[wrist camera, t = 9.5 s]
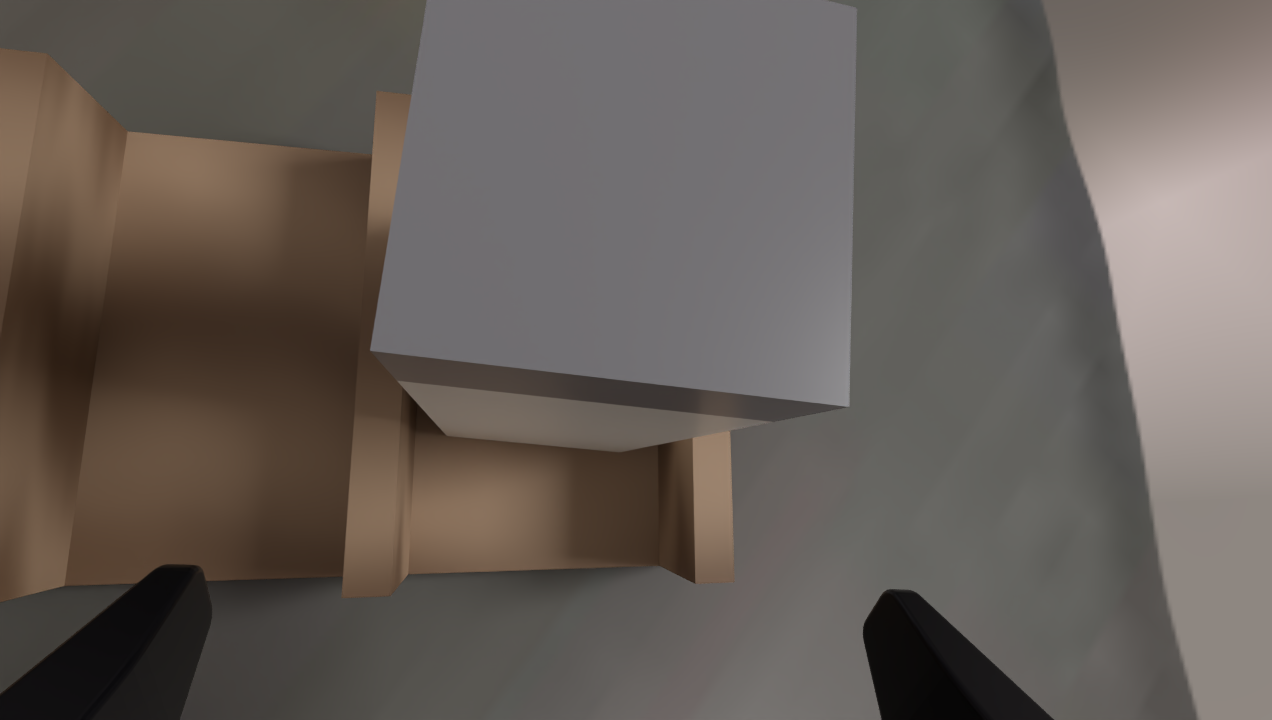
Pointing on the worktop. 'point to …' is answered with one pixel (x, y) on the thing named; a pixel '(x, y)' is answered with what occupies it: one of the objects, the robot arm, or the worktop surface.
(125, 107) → the worktop surface
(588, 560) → the comb rack
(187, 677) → the robot arm
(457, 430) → the grey piece
